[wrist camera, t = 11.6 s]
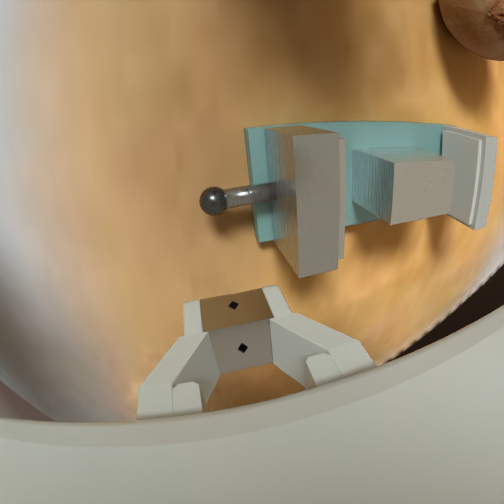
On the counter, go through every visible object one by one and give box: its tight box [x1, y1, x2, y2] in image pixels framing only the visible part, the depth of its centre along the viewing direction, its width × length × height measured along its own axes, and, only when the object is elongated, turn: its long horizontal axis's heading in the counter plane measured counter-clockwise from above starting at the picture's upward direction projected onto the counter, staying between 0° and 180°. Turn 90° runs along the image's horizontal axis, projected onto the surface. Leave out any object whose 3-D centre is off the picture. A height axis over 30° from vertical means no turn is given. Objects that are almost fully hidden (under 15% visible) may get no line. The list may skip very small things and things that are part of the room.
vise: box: [244, 121, 497, 243], centre depth 20 cm, size 20×8×6 cm, turn 96°
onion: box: [438, 0, 504, 61], centre depth 13 cm, size 10×9×10 cm
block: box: [352, 146, 456, 225], centre depth 19 cm, size 6×4×5 cm, turn 96°
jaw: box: [199, 125, 346, 278], centre depth 17 cm, size 8×8×5 cm
